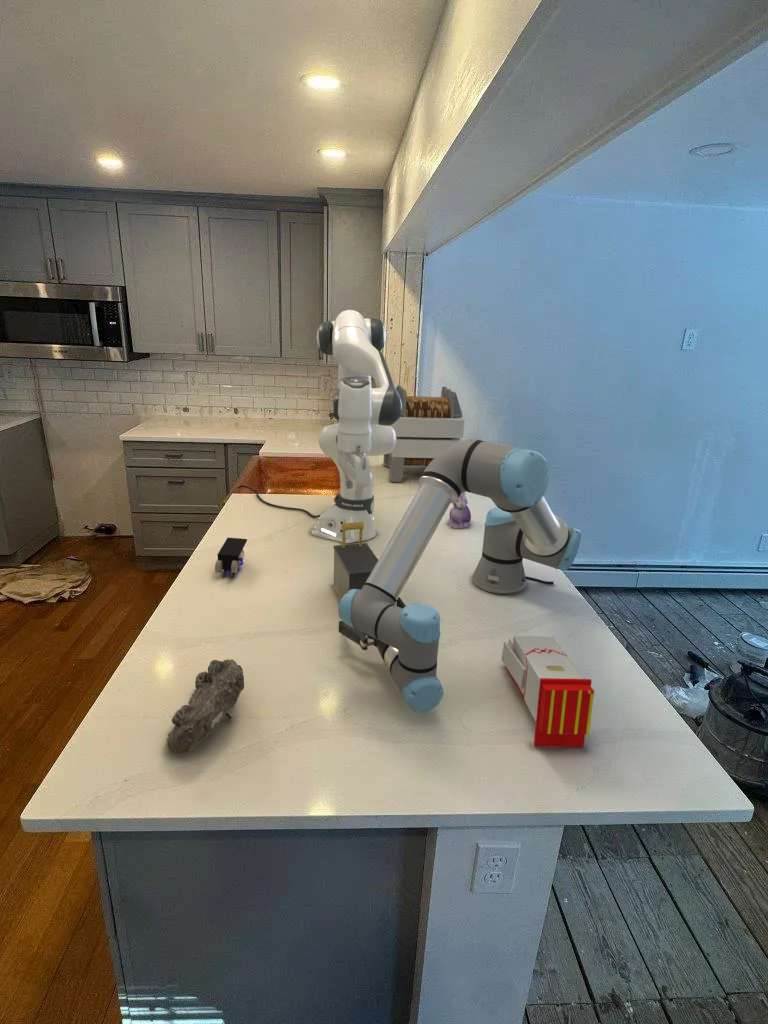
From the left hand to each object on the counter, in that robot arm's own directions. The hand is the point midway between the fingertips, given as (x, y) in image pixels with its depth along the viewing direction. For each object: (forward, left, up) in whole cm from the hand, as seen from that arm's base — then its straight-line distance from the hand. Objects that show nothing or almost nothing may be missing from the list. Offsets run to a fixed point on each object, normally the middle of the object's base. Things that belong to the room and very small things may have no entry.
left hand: (353, 493), depth 152 cm
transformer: (-8, +123, -28) cm, 127 cm away
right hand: (+12, -19, -22) cm, 31 cm away
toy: (+53, -34, -28) cm, 69 cm away
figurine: (+22, +61, -28) cm, 70 cm away
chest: (+4, -6, -28) cm, 29 cm away
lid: (+4, -6, -17) cm, 18 cm away
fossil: (-7, -60, -28) cm, 67 cm away
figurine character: (-36, -3, -28) cm, 46 cm away
